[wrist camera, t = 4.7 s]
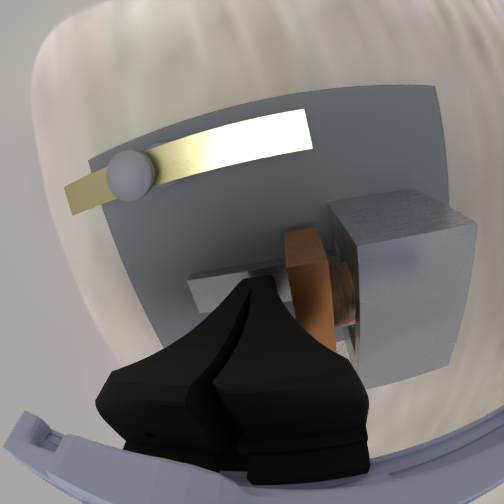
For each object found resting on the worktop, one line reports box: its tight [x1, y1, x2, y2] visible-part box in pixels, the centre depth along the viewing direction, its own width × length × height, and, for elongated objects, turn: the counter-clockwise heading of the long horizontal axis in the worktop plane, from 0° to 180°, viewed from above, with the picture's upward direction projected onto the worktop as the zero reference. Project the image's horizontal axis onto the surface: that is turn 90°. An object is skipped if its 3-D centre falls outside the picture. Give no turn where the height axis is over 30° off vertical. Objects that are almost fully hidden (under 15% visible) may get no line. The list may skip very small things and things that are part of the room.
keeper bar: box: [64, 109, 312, 215], centre depth 9 cm, size 9×1×2 cm, turn 103°
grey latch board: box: [88, 85, 449, 348], centre depth 10 cm, size 16×12×4 cm
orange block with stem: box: [284, 228, 355, 353], centre depth 9 cm, size 7×5×3 cm
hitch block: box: [187, 189, 477, 389], centre depth 10 cm, size 12×6×5 cm, turn 103°
